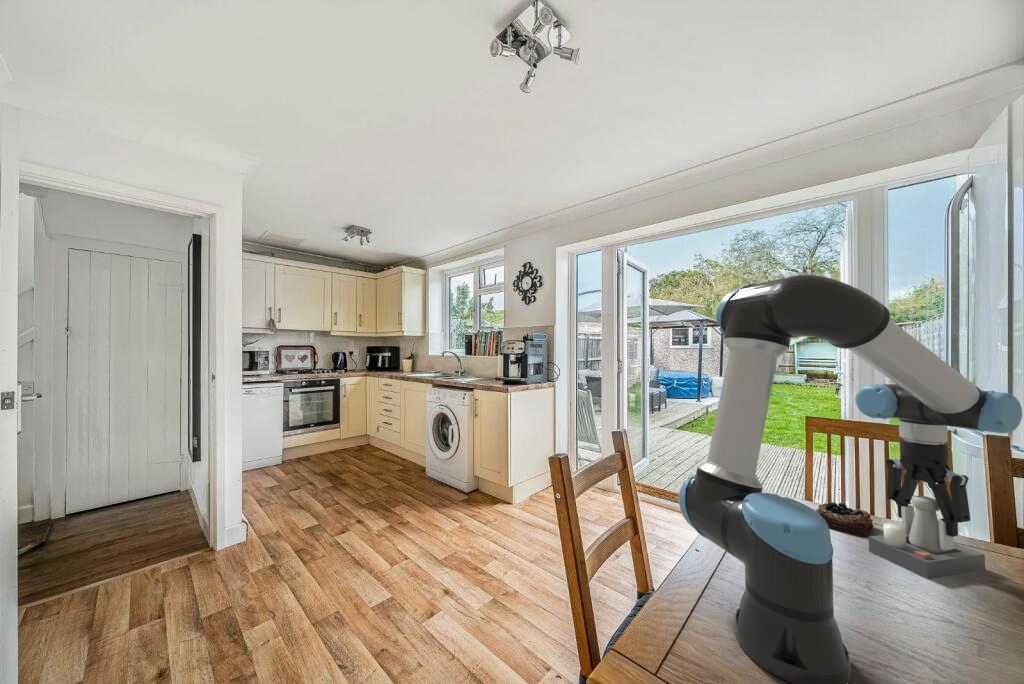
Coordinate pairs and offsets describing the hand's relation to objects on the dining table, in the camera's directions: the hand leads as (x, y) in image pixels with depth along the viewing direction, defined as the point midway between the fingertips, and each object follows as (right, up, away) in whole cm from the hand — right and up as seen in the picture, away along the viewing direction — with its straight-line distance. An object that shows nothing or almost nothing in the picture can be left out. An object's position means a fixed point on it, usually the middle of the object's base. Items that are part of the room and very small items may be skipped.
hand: (926, 540), depth 85 cm
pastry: (-4, -5, +17) cm, 18 cm away
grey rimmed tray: (-1, -4, 0) cm, 4 cm away
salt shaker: (0, -3, 0) cm, 3 cm away
